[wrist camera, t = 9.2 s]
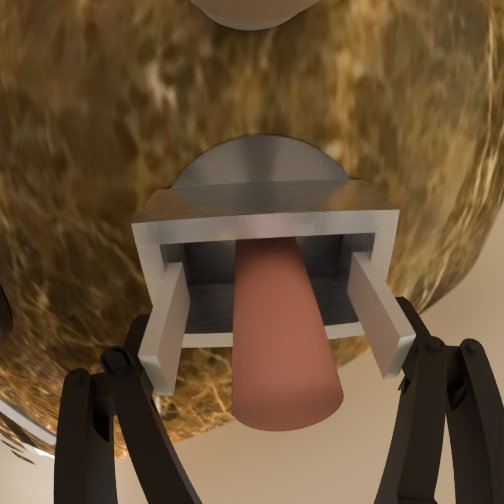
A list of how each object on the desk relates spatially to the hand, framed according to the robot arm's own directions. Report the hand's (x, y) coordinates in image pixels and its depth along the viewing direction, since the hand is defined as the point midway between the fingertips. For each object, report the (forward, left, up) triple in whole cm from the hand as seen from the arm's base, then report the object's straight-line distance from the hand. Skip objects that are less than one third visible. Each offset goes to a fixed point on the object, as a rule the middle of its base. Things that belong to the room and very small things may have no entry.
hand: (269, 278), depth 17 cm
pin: (0, 0, -4) cm, 4 cm away
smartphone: (-47, -37, -6) cm, 60 cm away
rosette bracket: (0, 0, -5) cm, 5 cm away
